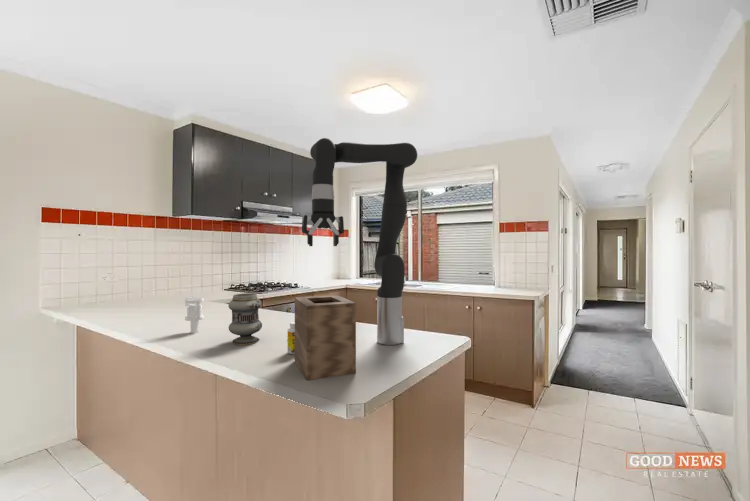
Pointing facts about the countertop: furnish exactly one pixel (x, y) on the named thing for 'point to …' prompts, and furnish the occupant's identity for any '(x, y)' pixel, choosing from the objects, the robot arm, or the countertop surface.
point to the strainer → (194, 312)
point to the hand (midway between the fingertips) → (323, 246)
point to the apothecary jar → (245, 318)
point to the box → (325, 336)
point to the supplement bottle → (291, 338)
